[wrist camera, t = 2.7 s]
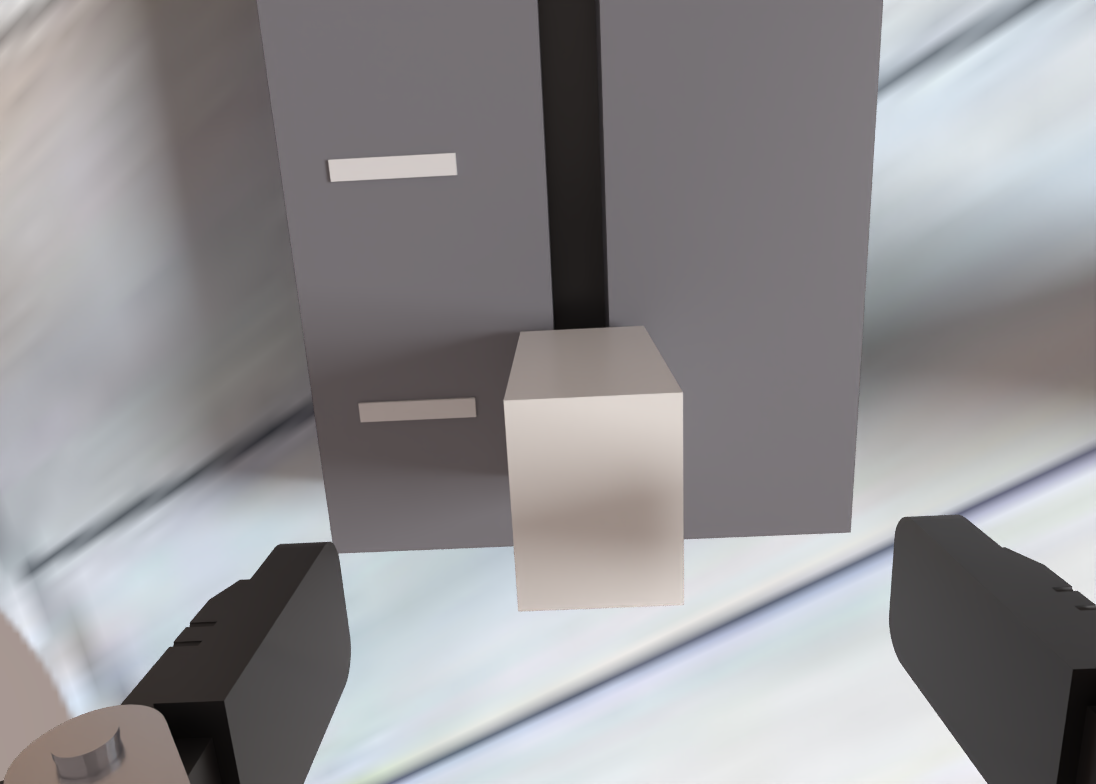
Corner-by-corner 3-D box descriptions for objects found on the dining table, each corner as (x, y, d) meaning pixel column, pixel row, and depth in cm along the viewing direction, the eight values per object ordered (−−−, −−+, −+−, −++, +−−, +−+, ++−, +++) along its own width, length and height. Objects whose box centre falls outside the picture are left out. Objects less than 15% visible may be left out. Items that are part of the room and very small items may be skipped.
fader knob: (523, 317, 20) (503, 400, 13) (635, 311, 20) (682, 392, 13) (532, 456, 21) (518, 611, 14) (638, 452, 21) (683, 605, 14)
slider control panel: (275, -354, 19) (179, -535, 14) (827, -394, 19) (921, -593, 14) (376, 483, 26) (333, 555, 21) (794, 464, 25) (851, 534, 20)
